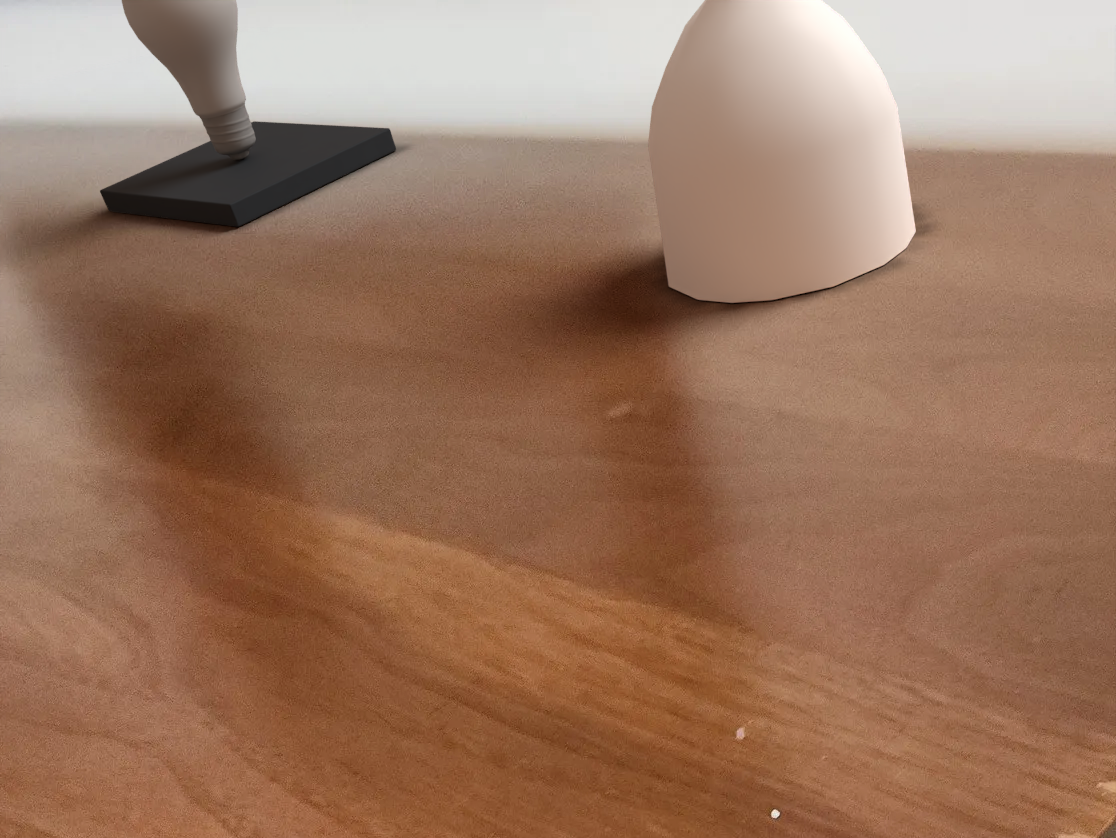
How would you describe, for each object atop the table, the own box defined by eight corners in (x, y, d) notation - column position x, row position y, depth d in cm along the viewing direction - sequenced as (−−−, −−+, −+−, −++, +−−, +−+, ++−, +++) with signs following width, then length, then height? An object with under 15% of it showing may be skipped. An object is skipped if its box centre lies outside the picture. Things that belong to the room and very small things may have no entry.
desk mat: (108, 211, 88) (98, 190, 87) (261, 141, 93) (254, 120, 92) (238, 227, 80) (229, 204, 79) (397, 150, 86) (390, 127, 85)
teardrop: (859, 182, 67) (823, -140, 58) (958, 247, 59) (933, -114, 50) (635, 250, 66) (566, -67, 57) (705, 326, 58) (637, -29, 49)
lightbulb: (199, 185, 83) (104, -42, 75) (185, 164, 87) (94, -53, 80) (299, 152, 84) (215, -75, 76) (281, 133, 88) (200, -84, 81)
